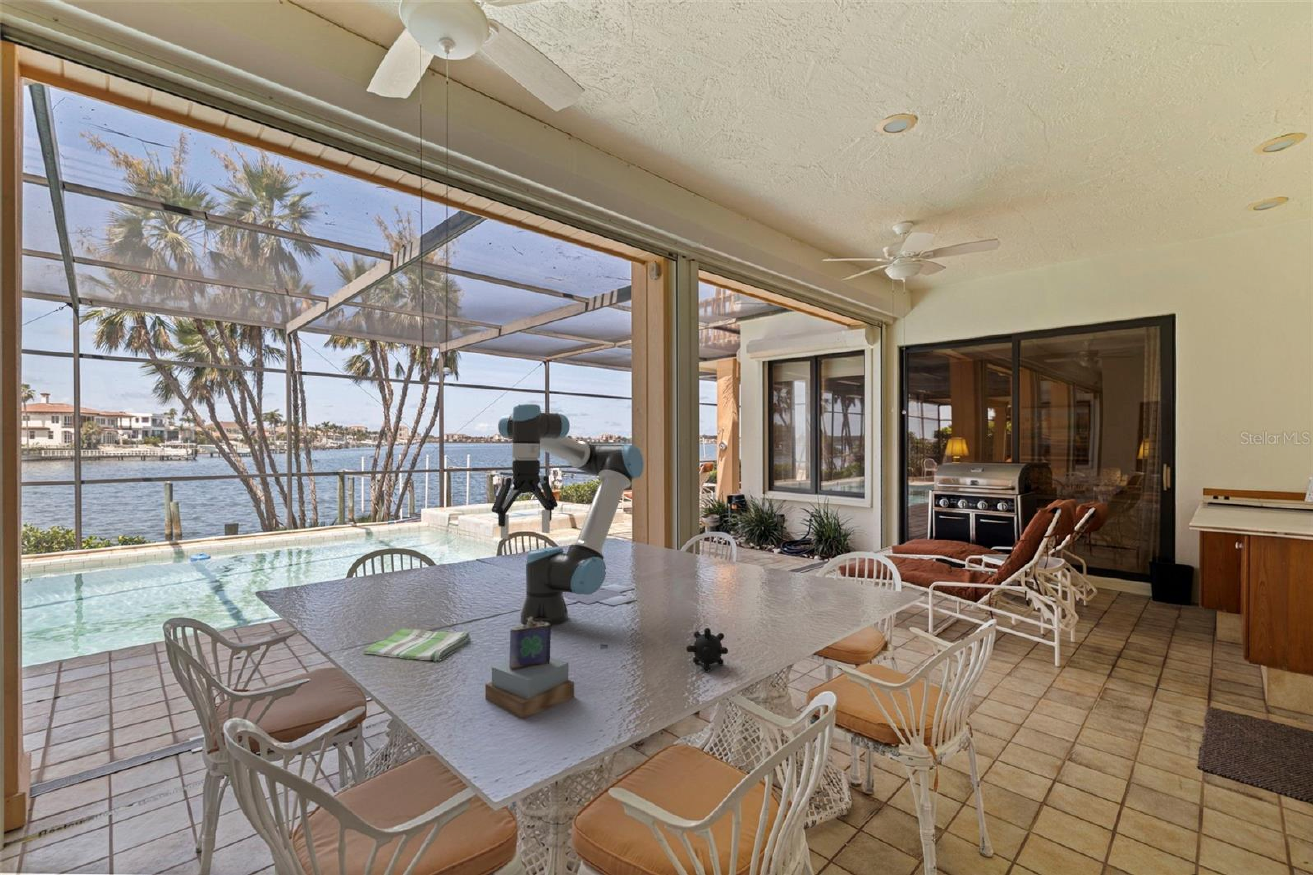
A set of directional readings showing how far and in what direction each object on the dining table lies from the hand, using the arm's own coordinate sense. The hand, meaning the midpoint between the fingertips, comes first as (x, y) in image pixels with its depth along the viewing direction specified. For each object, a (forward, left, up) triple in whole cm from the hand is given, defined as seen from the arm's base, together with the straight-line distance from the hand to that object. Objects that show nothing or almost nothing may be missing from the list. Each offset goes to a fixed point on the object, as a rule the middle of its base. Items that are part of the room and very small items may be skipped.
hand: (525, 535), depth 157 cm
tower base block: (+17, +26, -32) cm, 45 cm away
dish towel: (+19, -23, -32) cm, 44 cm away
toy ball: (-25, +44, -32) cm, 60 cm away
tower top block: (+16, +26, -28) cm, 41 cm away
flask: (+17, +26, -25) cm, 39 cm away
